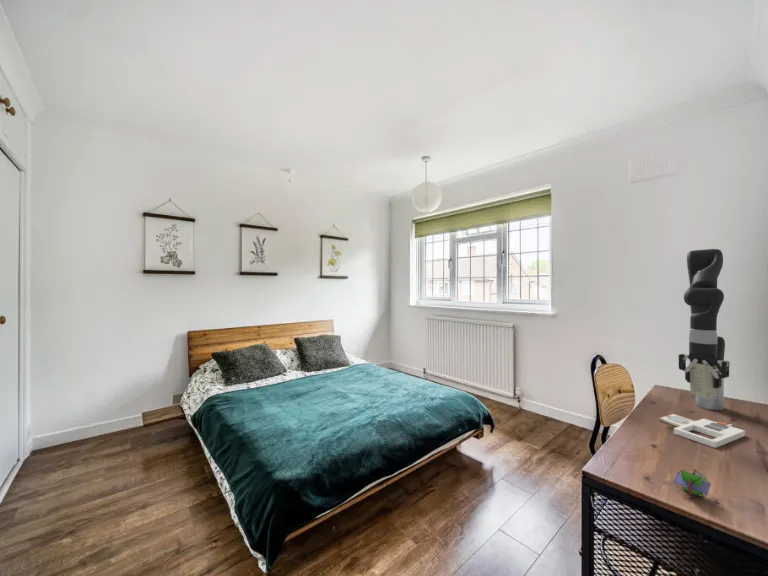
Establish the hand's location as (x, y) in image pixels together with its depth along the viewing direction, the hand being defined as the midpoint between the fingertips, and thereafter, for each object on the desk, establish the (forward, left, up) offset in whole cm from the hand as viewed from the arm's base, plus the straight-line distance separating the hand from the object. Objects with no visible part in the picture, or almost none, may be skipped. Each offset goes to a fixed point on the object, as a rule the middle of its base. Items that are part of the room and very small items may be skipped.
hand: (702, 385), depth 122 cm
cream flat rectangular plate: (-8, -11, -20) cm, 24 cm away
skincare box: (0, 0, -4) cm, 4 cm away
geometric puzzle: (+45, +16, -20) cm, 52 cm away
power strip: (-8, 0, -20) cm, 21 cm away
